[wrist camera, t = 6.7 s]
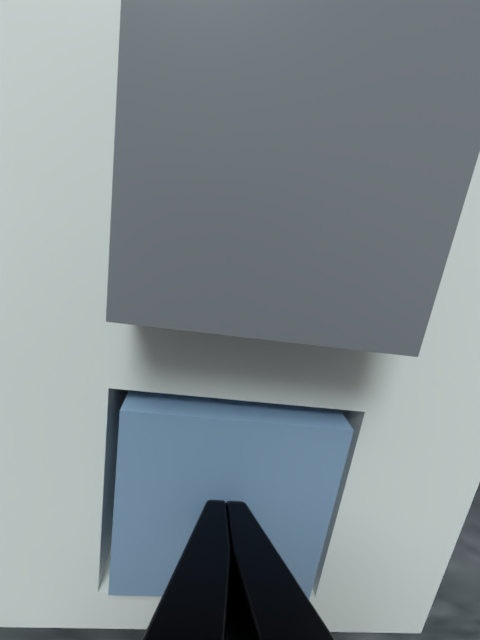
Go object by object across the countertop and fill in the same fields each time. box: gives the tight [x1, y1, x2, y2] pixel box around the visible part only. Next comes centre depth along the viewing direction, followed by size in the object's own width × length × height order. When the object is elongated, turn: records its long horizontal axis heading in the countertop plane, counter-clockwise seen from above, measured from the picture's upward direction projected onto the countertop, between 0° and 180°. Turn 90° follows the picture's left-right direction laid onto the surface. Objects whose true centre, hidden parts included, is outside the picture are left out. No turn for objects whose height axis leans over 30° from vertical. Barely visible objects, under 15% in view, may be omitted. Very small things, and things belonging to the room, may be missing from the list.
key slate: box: [108, 390, 354, 599], centre depth 9 cm, size 5×5×3 cm
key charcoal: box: [106, 0, 480, 357], centre depth 6 cm, size 5×5×3 cm
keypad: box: [0, 0, 480, 633], centre depth 8 cm, size 22×12×4 cm, turn 172°
